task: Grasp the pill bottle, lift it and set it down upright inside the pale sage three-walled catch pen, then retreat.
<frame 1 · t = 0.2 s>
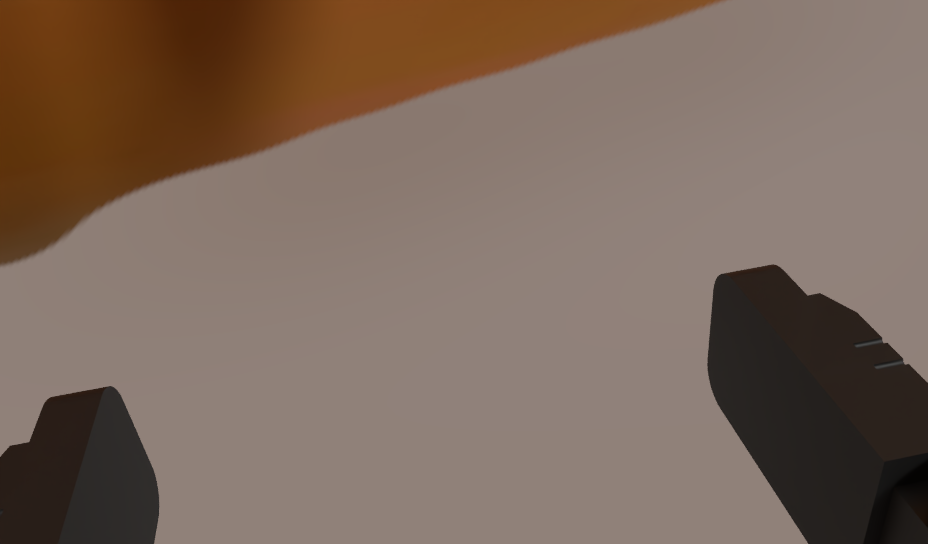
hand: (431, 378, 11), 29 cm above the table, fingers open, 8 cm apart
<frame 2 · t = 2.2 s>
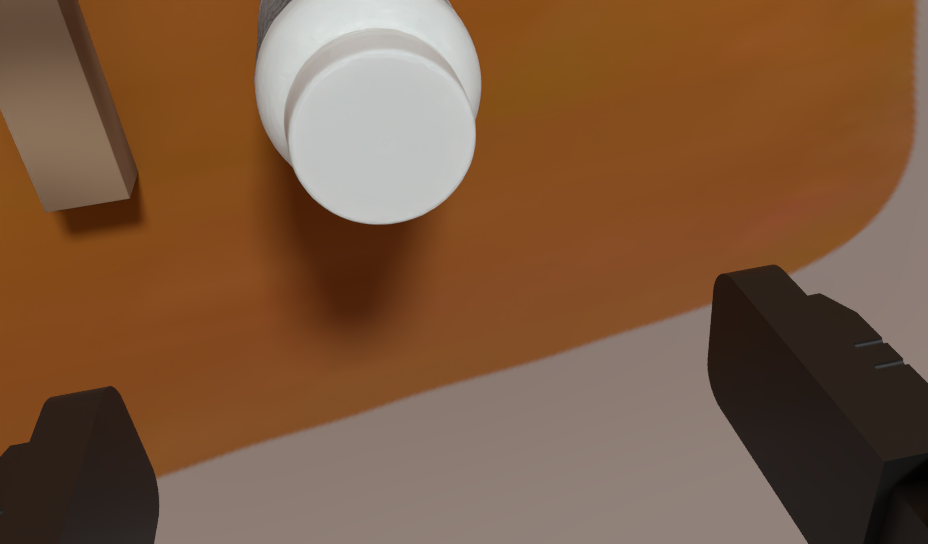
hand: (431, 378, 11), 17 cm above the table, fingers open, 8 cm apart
pill bottle: (350, 10, 25), on the table
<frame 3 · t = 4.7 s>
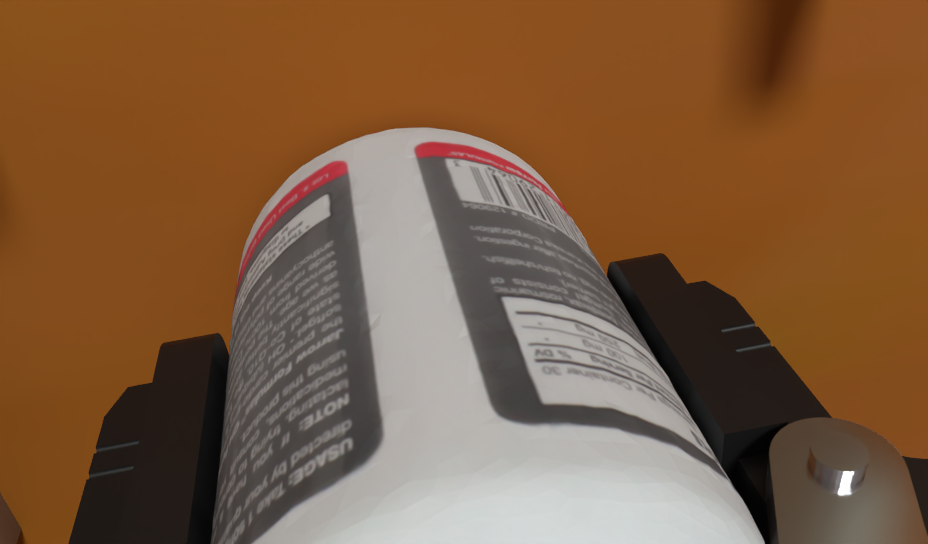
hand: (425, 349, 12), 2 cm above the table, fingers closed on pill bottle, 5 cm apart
pill bottle: (410, 267, 13), on the table, touching gripper
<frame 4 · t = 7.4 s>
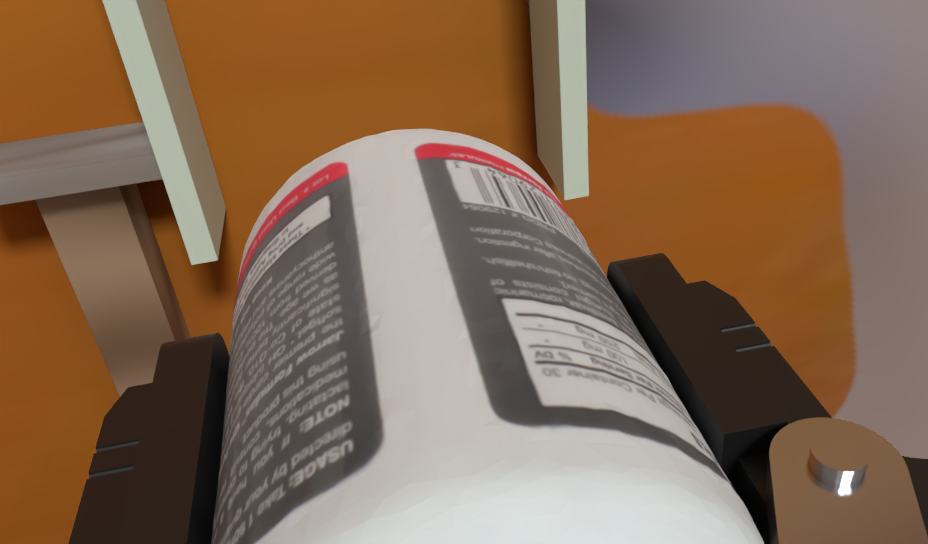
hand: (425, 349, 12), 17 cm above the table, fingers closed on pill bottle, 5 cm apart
pill bottle: (410, 268, 13), point 15 cm above the table, touching gripper
catch pen: (357, 24, 26), on the table
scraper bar: (143, 303, 30), on the table
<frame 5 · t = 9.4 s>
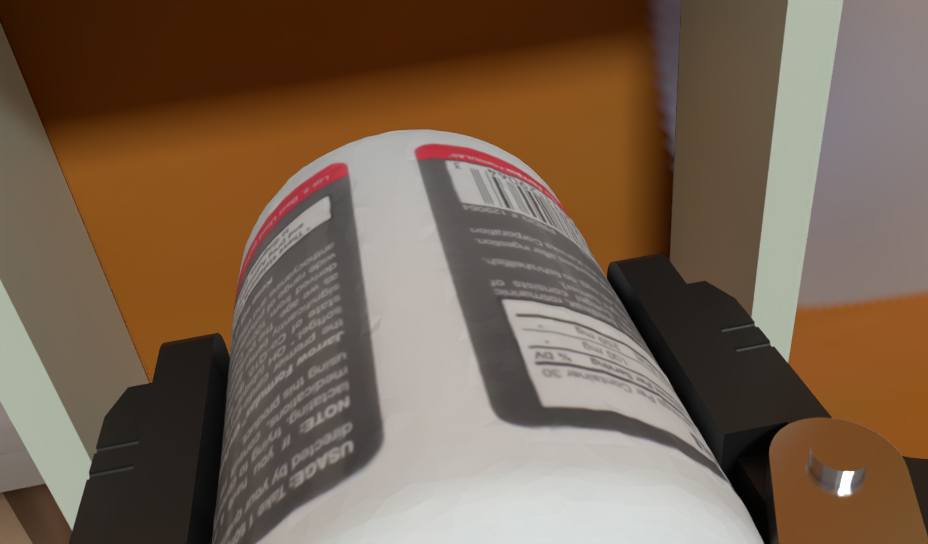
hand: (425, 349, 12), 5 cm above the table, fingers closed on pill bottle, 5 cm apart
pill bottle: (410, 269, 13), point 2 cm above the table, touching gripper
catch pen: (393, 196, 15), on the table
when the fingers open (3 cm above the table, at t = 10.6 s): pill bottle drops 1 cm, on the table.
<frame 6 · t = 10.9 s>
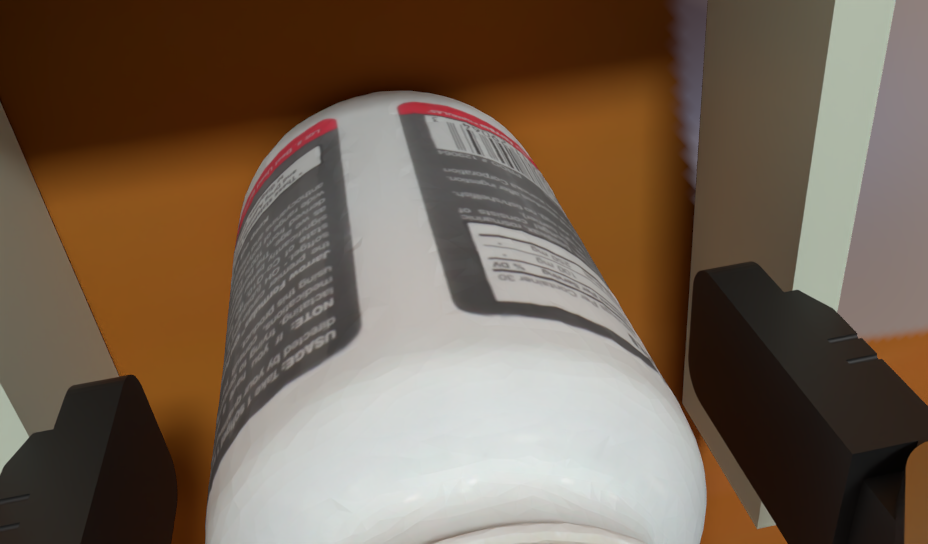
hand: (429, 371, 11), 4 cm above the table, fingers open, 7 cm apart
pill bottle: (396, 223, 15), on the table
catch pen: (399, 231, 14), on the table
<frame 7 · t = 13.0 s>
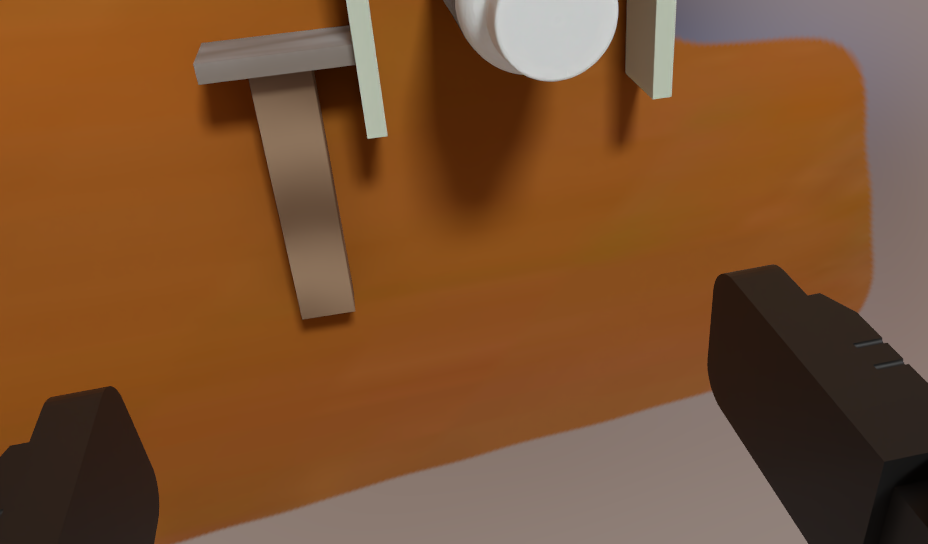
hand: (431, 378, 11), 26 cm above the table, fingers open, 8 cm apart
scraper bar: (306, 182, 37), on the table
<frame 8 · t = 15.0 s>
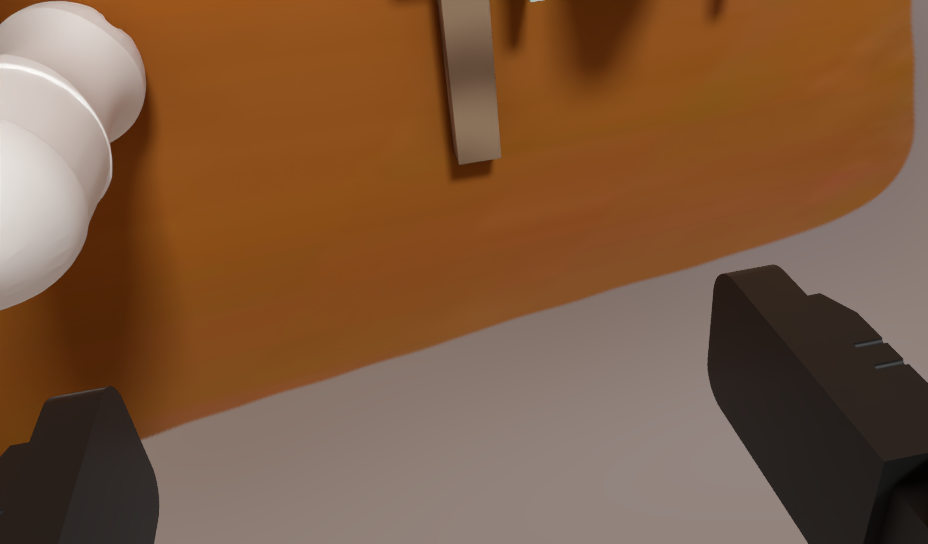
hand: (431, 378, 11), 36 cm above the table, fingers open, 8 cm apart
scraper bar: (464, 49, 46), on the table
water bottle: (81, 59, 43), on the table
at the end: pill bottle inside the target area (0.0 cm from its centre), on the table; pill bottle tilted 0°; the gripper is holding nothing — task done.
